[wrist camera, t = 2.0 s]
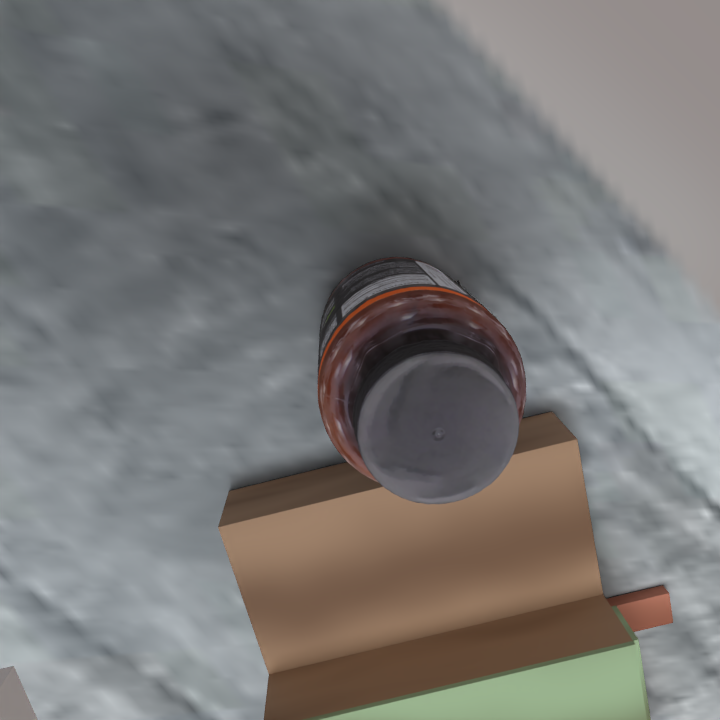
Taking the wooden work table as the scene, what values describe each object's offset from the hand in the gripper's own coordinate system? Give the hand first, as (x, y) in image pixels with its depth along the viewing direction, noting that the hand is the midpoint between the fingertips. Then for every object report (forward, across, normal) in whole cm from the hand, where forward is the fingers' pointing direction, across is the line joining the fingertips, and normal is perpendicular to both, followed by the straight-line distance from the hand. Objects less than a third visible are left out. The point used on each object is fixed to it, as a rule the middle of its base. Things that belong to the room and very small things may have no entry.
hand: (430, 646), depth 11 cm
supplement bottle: (+17, +1, +1) cm, 17 cm away
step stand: (+17, +2, -15) cm, 23 cm away
